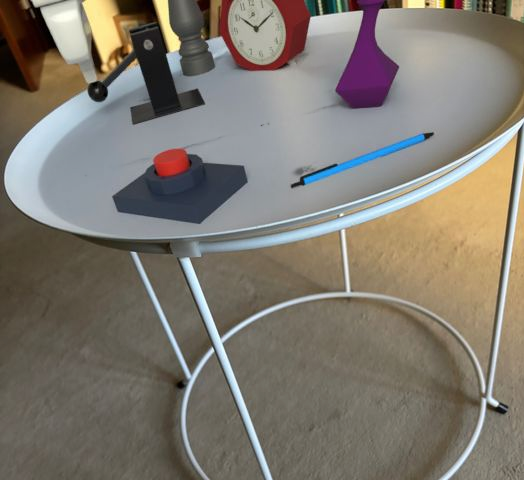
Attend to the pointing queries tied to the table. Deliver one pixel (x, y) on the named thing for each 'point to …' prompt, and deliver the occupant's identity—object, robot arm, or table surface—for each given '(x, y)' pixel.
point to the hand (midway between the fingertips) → (92, 80)
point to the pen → (360, 160)
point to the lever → (109, 79)
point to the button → (171, 162)
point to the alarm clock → (264, 31)
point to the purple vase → (367, 65)
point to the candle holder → (190, 37)
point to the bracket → (158, 78)
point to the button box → (182, 191)
